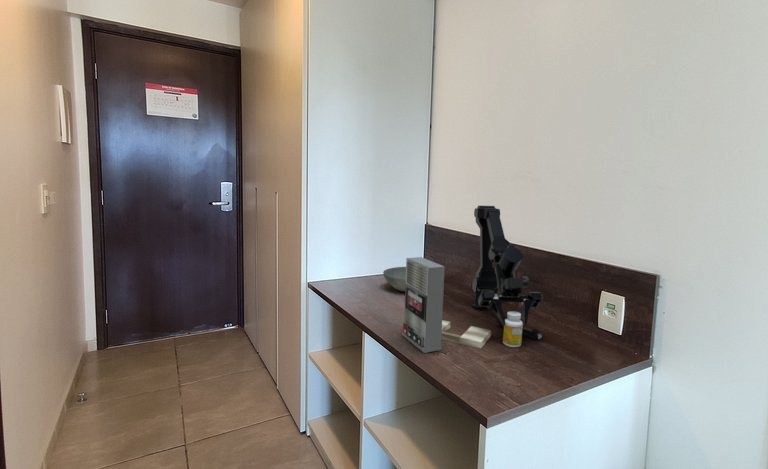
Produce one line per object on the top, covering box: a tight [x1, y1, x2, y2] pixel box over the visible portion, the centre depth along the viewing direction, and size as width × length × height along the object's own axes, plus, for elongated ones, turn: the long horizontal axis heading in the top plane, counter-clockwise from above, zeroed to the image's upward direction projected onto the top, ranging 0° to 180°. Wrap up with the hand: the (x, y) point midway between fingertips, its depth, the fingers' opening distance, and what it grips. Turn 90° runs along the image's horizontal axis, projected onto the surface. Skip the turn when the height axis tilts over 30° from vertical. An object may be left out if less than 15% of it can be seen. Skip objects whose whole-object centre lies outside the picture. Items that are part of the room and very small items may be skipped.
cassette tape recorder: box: [401, 256, 446, 354], centre depth 122 cm, size 14×6×25 cm, turn 24°
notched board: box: [441, 319, 492, 349], centre depth 130 cm, size 11×17×2 cm, turn 61°
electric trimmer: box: [497, 318, 544, 342], centre depth 134 cm, size 4×16×3 cm, turn 39°
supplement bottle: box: [502, 310, 524, 348], centre depth 124 cm, size 5×5×10 cm
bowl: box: [382, 266, 406, 292], centre depth 181 cm, size 21×21×8 cm
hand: (514, 324), depth 123 cm, fingers open, 6 cm apart
